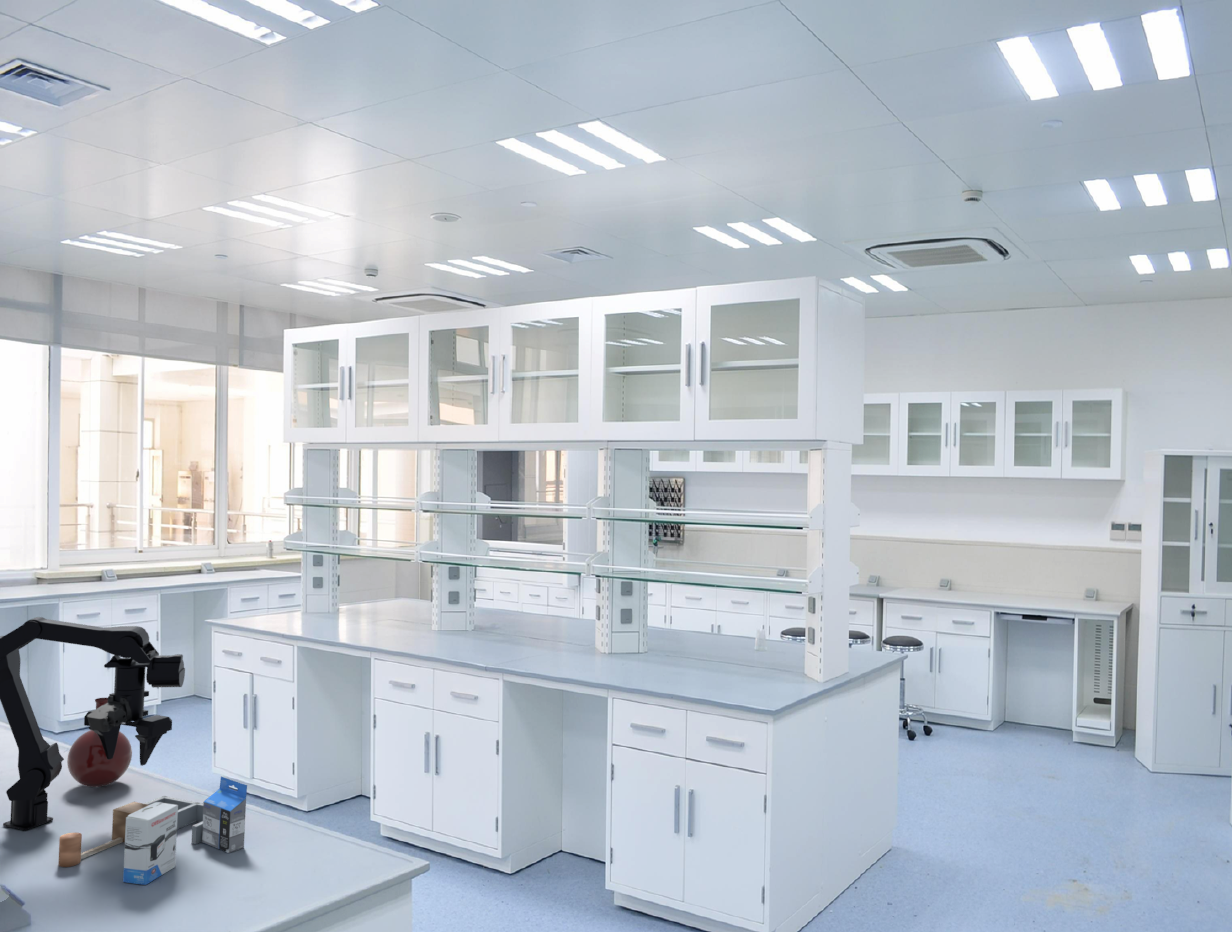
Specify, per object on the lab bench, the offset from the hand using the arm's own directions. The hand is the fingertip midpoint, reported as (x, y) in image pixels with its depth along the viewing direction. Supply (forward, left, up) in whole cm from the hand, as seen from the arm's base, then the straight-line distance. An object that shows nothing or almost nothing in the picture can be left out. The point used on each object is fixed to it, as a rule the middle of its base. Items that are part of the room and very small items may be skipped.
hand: (126, 761), depth 197 cm
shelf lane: (+14, +1, -12) cm, 18 cm away
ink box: (+26, -18, -12) cm, 34 cm away
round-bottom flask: (-22, +13, -12) cm, 28 cm away
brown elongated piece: (+9, -13, -12) cm, 20 cm away
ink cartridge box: (+28, -2, -12) cm, 31 cm away
